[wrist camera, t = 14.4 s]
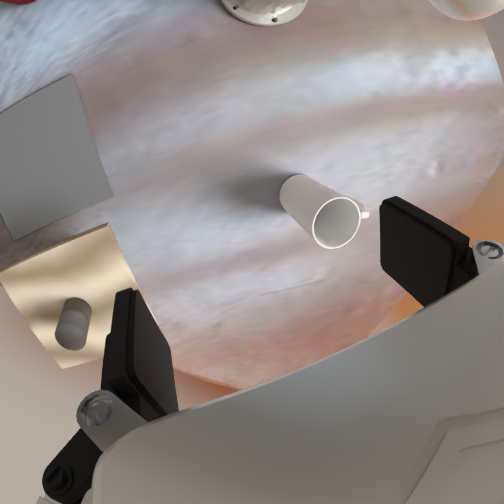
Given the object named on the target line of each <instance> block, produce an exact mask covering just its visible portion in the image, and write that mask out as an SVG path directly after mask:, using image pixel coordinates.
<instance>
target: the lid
mask: <svg viewBox="0 0 504 504" xmlns="http://www.w3.org/2000/svg"><path fill="white" fill-rule="evenodd" d="M0 282H1V284H2V285H3V287H4V289H5V290H6V292H7V293H8V295H9V297H10V298H11V300H12V301H13V303H14V304H15V306H16V308H17V309H18V311H19V312H20V314H21V315H22V316H23V318H24V319H25V321H26V322H27V324H28V325H29V326H30V328H31V329H32V331H33V332H34V333H35V335H36V336H37V337H38V339H39V340H40V341H41V343H42V344H43V345H44V347H45V348H46V349H47V350H48V352H49V353H50V354H51V356H52V357H53V358H54V359H55V360H56V362H57V363H58V364H59V365H60V366H61V368H62V369H63V368H67V367H71V366H74V365H78V364H81V363H85V362H89V361H93V360H96V359H100V358H103V357H104V348H105V340H106V336H107V335H108V334H109V333H110V331H111V323H112V315H113V308H114V301H115V295H116V292H118V291H121V290H124V289H127V288H130V287H131V288H132V289H133V290H137V289H138V290H139V291H140V293H141V295H142V297H143V299H144V301H145V303H146V305H147V306H148V304H147V302H146V300H145V298H144V296H143V294H142V292H141V290H140V288H139V286H138V284H137V282H136V280H135V278H134V276H133V274H132V272H131V270H130V268H129V266H128V264H127V262H126V260H125V258H124V255H123V253H122V251H121V249H120V247H119V245H118V242H117V240H116V238H115V236H114V233H113V231H112V229H111V226H110V224H109V222H107V223H105V224H102V225H100V226H97V227H95V228H92V229H90V230H87V231H85V232H83V233H80V234H78V235H75V236H73V237H71V238H68V239H66V240H64V241H61V242H59V243H57V244H54V245H52V246H50V247H47V248H45V249H43V250H41V251H38V252H36V253H34V254H32V255H30V256H27V257H25V258H23V259H21V260H19V261H17V262H15V263H12V264H10V265H8V266H6V267H4V268H2V269H0ZM148 308H149V306H148ZM149 310H150V308H149ZM150 312H151V310H150ZM151 314H152V316H153V317H154V315H153V313H152V312H151ZM154 319H155V317H154ZM155 321H156V319H155ZM156 323H157V321H156ZM157 325H158V323H157ZM158 326H159V325H158ZM159 328H160V326H159ZM160 330H161V328H160ZM161 332H162V330H161ZM162 334H163V332H162Z"/></svg>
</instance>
